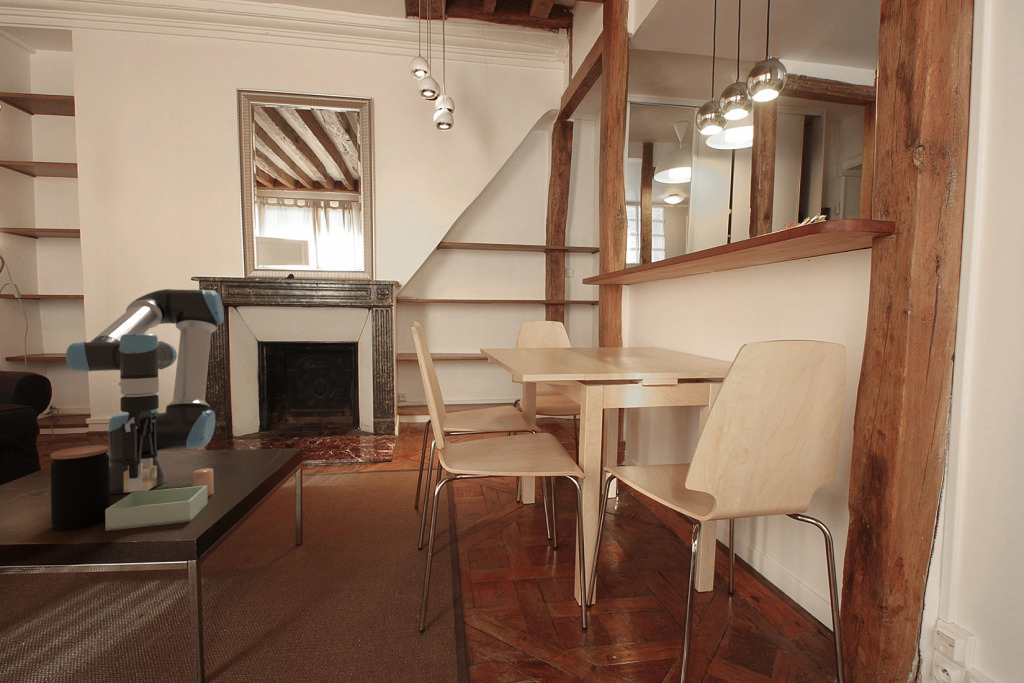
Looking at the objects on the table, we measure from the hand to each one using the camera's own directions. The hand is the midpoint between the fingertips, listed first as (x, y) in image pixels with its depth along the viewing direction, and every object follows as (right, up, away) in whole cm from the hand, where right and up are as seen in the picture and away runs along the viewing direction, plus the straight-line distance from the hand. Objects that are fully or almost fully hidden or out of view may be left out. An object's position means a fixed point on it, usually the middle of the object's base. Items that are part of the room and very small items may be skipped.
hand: (140, 487), depth 117 cm
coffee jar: (-13, -8, -2) cm, 15 cm away
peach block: (+4, -8, +18) cm, 20 cm away
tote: (+4, -8, +1) cm, 9 cm away
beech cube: (0, 0, 0) cm, 0 cm away
